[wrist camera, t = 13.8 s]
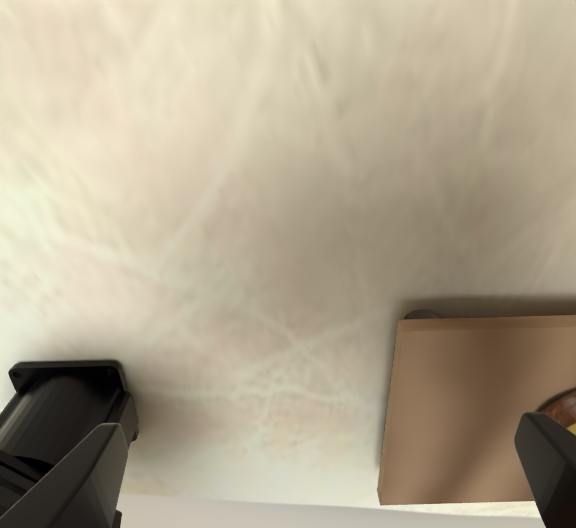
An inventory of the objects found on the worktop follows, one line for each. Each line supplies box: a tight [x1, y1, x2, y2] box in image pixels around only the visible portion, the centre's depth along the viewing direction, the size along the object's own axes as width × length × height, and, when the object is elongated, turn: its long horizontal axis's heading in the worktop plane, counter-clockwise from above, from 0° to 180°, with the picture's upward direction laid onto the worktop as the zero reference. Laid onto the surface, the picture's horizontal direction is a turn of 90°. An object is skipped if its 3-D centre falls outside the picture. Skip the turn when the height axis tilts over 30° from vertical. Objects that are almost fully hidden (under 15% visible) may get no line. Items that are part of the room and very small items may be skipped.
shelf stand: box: [377, 310, 576, 505], centre depth 25 cm, size 22×14×3 cm, turn 91°
